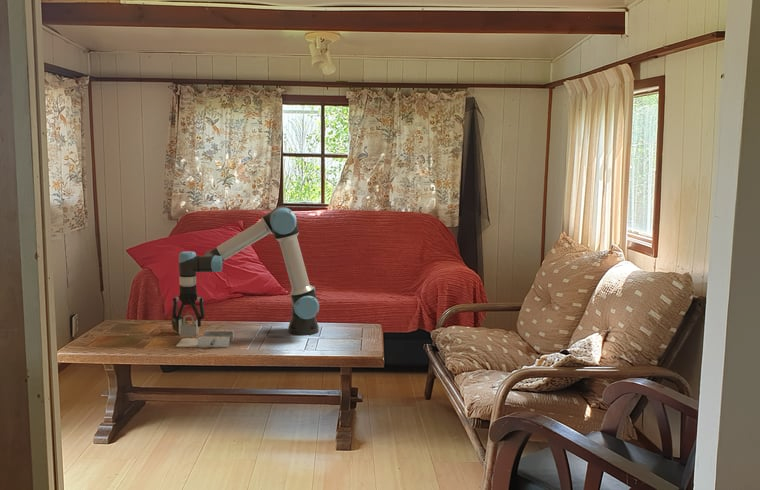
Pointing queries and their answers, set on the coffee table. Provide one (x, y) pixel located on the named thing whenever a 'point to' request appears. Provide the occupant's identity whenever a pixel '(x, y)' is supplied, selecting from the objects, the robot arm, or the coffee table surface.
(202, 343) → the vise
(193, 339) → the pad
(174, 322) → the cup
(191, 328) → the padlock
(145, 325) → the coffee table surface
